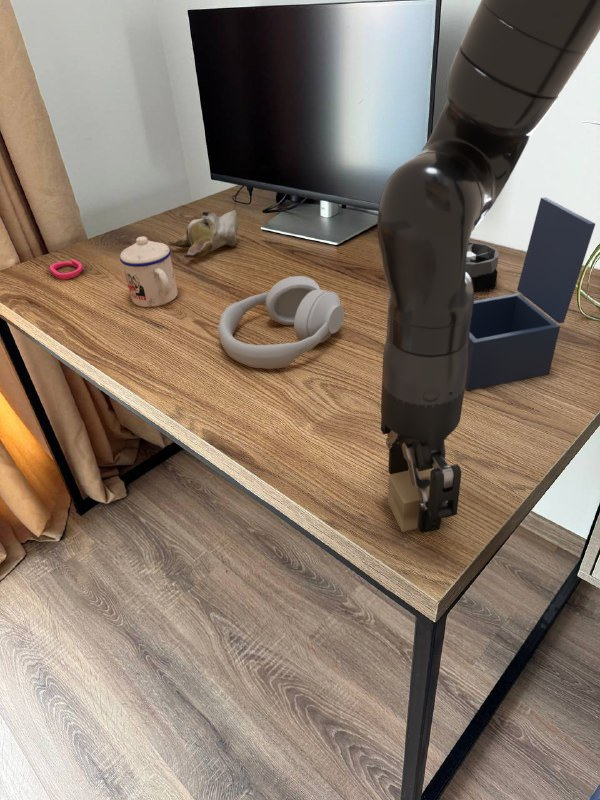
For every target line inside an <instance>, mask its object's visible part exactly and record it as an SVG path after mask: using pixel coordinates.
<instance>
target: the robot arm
mask: <svg viewBox="0 0 600 800" xmlns="http://www.w3.org/2000/svg"><path fill="white" fill-rule="evenodd" d="M599 33H600V0H480V2H479V5H478V6H477V9H476V11H475V13H474V15H473V17H472V18H471V21H470V23H469V25H468V27H467V29H466V32H465V34H464V36H463V38H462V40H461V43H460V45H459V46H458V49H457V51H456V52H455V55H454V58H453V60H452V63H451V65H450V68H449V71H448V74H447V76H446V80H445V85H444V86H445V88H444V89H445V90H444V91H445V96H446V99H447V100H446V101H445V103H444V106H443V108H442V111H441V112H440V115H439V117H438V119H437V121H436V123H435V126H434V128H433V130H432V132H431V134H430V136H429V137H428V139H427V141H426V143H425V144H424V146H423V148H422V149H421V150H420V151H419V152H418V153H417V154H416V155H414V156H412V157H411V158H410V159H408V160H407V161H405V162H404V163H403V164H401V165H400V166H399V167H398V168H396V169H395V171H393V173H392V174H391V175H390V177H389V178H388V179H387V181H386V183H385V184H384V187H383V190H382V191H381V196H380V200H379V205H378V210H377V221H376V223H377V224H376V225H377V227H376V228H377V230H376V231H377V239H378V246H379V252H380V258H381V262H382V268H383V274H384V278H385V281H386V284H387V288H388V289H387V290H388V300H387V317H386V318H387V319H386V338H385V343H384V348H383V353H382V371H381V372H382V373H381V396H380V397H381V400H380V415H381V418H380V419H381V420H380V431H381V434H382V435H387V437H386V439H385V444H386V447H387V448H388V465H387V467H388V468H387V471H388V473H389V475H390V474H395V473H399V472H404V471H408V470H409V474H410V479H411V484H412V486H414V487H416V488H417V490H418V495H419V500H420V507H419V517H418V528H417V529H418V530H419V532H420V533H421V534H428V533H431V532H435V531H436V532H437V531H440V529H441V525H442V519H446V518H450V517H454V516H457V515H458V510H459V509H458V507H459V499H460V492H461V482H462V469H461V467H460V465H459V464H458V463H455V464H451V465H449V464H448V462H447V461H446V451H447V450H446V449H447V447H446V443H445V442H446V439H447V438H448V437H449V436H450V435H451V434H452V433H453V432H454V431H455V430H456V429H457V427H458V426H459V424H460V422H461V419H462V418H461V417H462V410H463V403H464V396H465V390H466V388H465V383H466V376H467V369H468V361H469V352H468V342H469V334H470V327H471V320H472V313H473V312H472V311H473V303H474V301H475V291H474V286H473V282H472V279H471V278H470V276H469V274H468V273H466V259H467V250H468V245H469V242H470V240H471V236H472V232H473V231H474V230H475V228H476V227H477V226H478V225H479V224H480V223H481V222H482V221H483V220H484V218H485V217H486V216H487V215H488V213H489V212H490V211H491V209H492V208H493V206H494V205H495V203H496V202H497V200H498V198H499V196H500V195H501V193H502V191H503V190H504V189H505V187H506V185H507V183H508V181H509V179H510V177H511V175H512V174H513V172H514V170H515V168H516V167H517V164H518V163H519V160H520V158H521V157H522V155H523V153H524V151H525V149H526V147H527V145H528V143H529V142H530V139H531V137H532V134H533V133H534V131H535V130H536V129H537V127H538V126H539V125H540V124H541V122H542V121H543V119H544V118H545V117H546V115H547V114H548V113H549V111H550V110H551V108H552V107H553V106H554V104H555V103H556V101H557V100H558V98H559V95H561V93H562V92H563V90H564V89H565V87H566V86H567V84H568V82H569V81H570V79H571V78H572V76H573V74H574V72H576V70H577V68H578V67H579V65H580V63H581V62H582V60H583V58H584V57H585V55H586V54H587V52H588V51H589V49H590V48H591V46H592V44H593V43H594V41H595V39H596V38H597V36H598V34H599ZM424 470H429V471H430V472H431V475H430V476H428V477H424V478H420V477H419V473H418V471H424ZM428 486H430V488H429V498H428V497H427V492H426V488H427V487H428Z"/></svg>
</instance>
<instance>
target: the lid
mask: <svg viewBox="0 0 600 800" xmlns="http://www.w3.org/2000/svg"><path fill="white" fill-rule="evenodd" d="M595 227H596V223H595V222H593V221H591V220H589V219H588V218H585V217H583V216H582V215H580V214H578V213H576V212H575V211H572V210H570V209H568V208H567V207H565V206H563V205H561V204H559V203H557V202H555V201H554V200H551V199H550V198H547V197H540V199H539V203H538V207H537V212H536V215H535V219H534V223H533V227H532V231H531V234H530V238H529V242H528V245H527V249H526V252H525V253H526V254H525V257H524V261H523V264H522V268H521V272H520V276H519V280H518V285H517V288H516V290H517V291H518V293H519V294H521V295H522V296H523V297H524V298H526V299H527V300H528V301H529V302H531V303H532V304H533V305H534V306H536V307H537V308H538V309H539V310H540V311H542V312H543V313H544V314H545V315H547V316H548V317H549V318H550V319H552V320H553V321H554V322H555V323H557V324H564V323H565V320H566V317H567V314H568V311H569V308H570V304H571V302H572V299H573V295H574V292H575V289H576V286H577V283H578V281H579V280H578V279H579V277H580V273H581V271H582V267H583V264H584V261H585V258H586V255H587V252H588V249H589V245H590V242H591V239H592V236H593V233H594V230H595Z"/></svg>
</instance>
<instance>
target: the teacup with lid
mask: <svg viewBox="0 0 600 800" xmlns="http://www.w3.org/2000/svg"><path fill="white" fill-rule="evenodd" d="M171 251H172V250H171V249H170V247H169V246H168V245H167V244H165V243H162V242H158V241H152V240H149V239H148V237H147V236H138V237H137V238H136V239H135V243H133V244H132V245H130V246H127V247H126V248H125V249H123V250H122V251H121V253H120V255H119V261H120V263H122V268H123V271H124V275H125V279H126V282H127V286H128V287H127V288H128V290H129V294H130V298H131V301H132V303H133V304H134V305H136V306H138V307H143V308H152V307H153V308H154V307H155V308H156V307H160V306H163V305H167V304H169V303H170V302H172V301H173V300H175V299H176V298H177V296H178V286H177V281H176V277H175V272H174V266H173V263H172V257H171V253H172V252H171Z"/></svg>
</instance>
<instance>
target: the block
mask: <svg viewBox="0 0 600 800" xmlns="http://www.w3.org/2000/svg"><path fill="white" fill-rule="evenodd" d="M418 473H419V477H420V478H424V477H428V476H430V475H431V470H430V469H429V470H424V471H418ZM429 488H430V486H428V487H427V488H426V492H427V497H428V498H429ZM387 504H388V506H389V508H390V511H391V513H392V515H393V516H394V518H395V520H396V522H397V524H398V527H399V528H400V530H401V532H402V533H404V532H409V531H412V530H417V529H419V528H418V517H419V507H420V500H419V495H418V490H417V488H416V487H414V486H412V484H411V479H410V474H409V470H408V471H404V472H399V473H395V474H390V473H389V474H388V490H387Z"/></svg>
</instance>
